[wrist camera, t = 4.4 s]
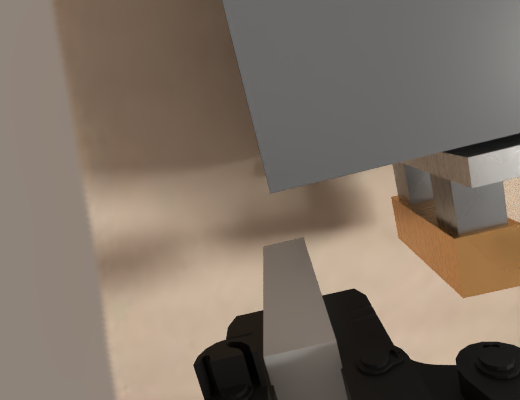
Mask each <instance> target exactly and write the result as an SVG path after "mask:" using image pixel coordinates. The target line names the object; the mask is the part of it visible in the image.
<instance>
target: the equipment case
mask: <svg viewBox="0 0 520 400" xmlns="http://www.w3.org/2000/svg"><path fill="white" fill-rule="evenodd" d="M222 2H223V6H224V10H225V14H226V18H227V22H228V26H229V30H230V34H231V38H232V42H233V46H234V50H235V54H236V58H237V62H238V66H239V70H240V74H241V78H242V82H243V86H244V90H245V94H246V98H247V102H248V106H249V110H250V114H251V118H252V122H253V126H254V130H255V134H256V138H257V142H258V146H259V150H260V154H261V158H262V162H263V166H264V170H265V174H266V178H267V182H268V186H269V190H270V194H271V193H275V192H279V191H283V190H287V189H291V188H295V187H299V186H304V185H308V184H312V183H316V182H320V181H324V180H328V179H332V178H337V177H341V176H345V175H349V174H353V173H357V172H361V171H365V170H369V169H374V168H378V167H382V166H386V165H390V164H394V163H398V162H402V161H407V160H411V159H415V158H419V157H423V156H427V155H431V154H435V153H439V152H444V151H448V150H452V149H456V148H460V147H464V146H468V145H472V144H477V143H481V142H485V141H489V140H493V139H497V138H501V137H505V136H509V135H514V134H518V133H520V0H222Z"/></svg>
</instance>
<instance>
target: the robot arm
mask: <svg viewBox="0 0 520 400" xmlns="http://www.w3.org/2000/svg"><path fill="white" fill-rule="evenodd" d="M193 366H194V369H195V372H196V375H197V378H198V381H199V384H200V387H201V390H202V393H203V396H204V399H205V400H520V348H519V347H517V346H515V345H511V344H506V343H501V342H480V343H475V344H471V345H468V346H467V347H465V348H464V349H462V350H461V351H460V352H459V354H458V355H457V357H456V365H432V364H424V363H420V362H416V361H413V360H411V359H410V358H409V356H408V355H407V354H406V353H405V352H404V351H403V350H402V349H401V348H399V347H396V346H394V345H393V343H392V341H391V339H390V337H389V336H388V334H387V332H386V330H385V329H384V327H383V325H382V323H381V321H380V320H379V318H378V316H377V315H376V313H375V311H374V309H373V307H372V306H371V304H370V302H369V300H368V298H367V296H366V295H365V294H363V293H361V292H359V291H357V290H356V289H350V290H345V291H341V292H336V293H332V294H328V295H323V296H322V294H321V291H320V288H319V285H318V282H317V279H316V276H315V273H314V269H313V266H312V263H311V260H310V257H309V254H308V251H307V247H306V244H305V241H304V238H299V239H294V240H290V241H286V242H282V243H277V244H273V245H269V246H265V247H264V248H263V310H262V311H258V312H253V313H249V314H245V315H240V316H236V318H235V319H234V320H233V322H232V323H231V324H230V325H229V327H228V331H227V337H226V340H223V341H220V342H217V343H215V344H214V345H212V346H210V347H208V348H207V349H205V350H204V351H203V352H202V353H201V354H200V355H199V356H198V357H197V359H196V361H195V363H194V365H193Z"/></svg>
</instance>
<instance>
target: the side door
mask: <svg viewBox="0 0 520 400" xmlns="http://www.w3.org/2000/svg"><path fill="white" fill-rule="evenodd" d="M393 169H394V174H395V180H396V186H397V191H398V196H394V197H391V199H392V204H393V210H394V215H395V221H396V226H397V232H398V237H399V239H400V240H401V241H402V242H404V243H405V244H406V245H407V246H408V247H409V248H410V249H411V250H412V251H413V252H414V253H415V254H416V255H417V256H419V257H420V258H421V259H422V260H423V261H424V262H425V263H426V264H427V265H428V266H429V267H430V268H431V269H432V270H434V271H435V272H436V273H437V274H438V275H439V276H440V277H441V278H442V279H443V280H444V281H445V282H446V283H447V284H449V285H450V286H451V287H452V288H453V289H454V290H455V291H456V292H457V293H458V294H459V295H460V296H461V297H462V298H466V297H470V296H475V295H479V294H484V293H489V292H493V291H498V290H503V289H507V288H512V287H516V286H520V223H519V222H516V221H514V220H512V219H509V218H507V212H506V204H505V195H504V187H503V181H505V180H509V179H514V178H518V177H520V133H518V134H514V135H509V136H505V137H501V138H497V139H493V140H489V141H485V142H481V143H477V144H472V145H468V146H464V147H460V148H456V149H452V150H448V151H444V152H439V153H435V154H431V155H427V156H423V157H419V158H415V159H411V160H407V161H402V162H398V163H394V164H393Z"/></svg>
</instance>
